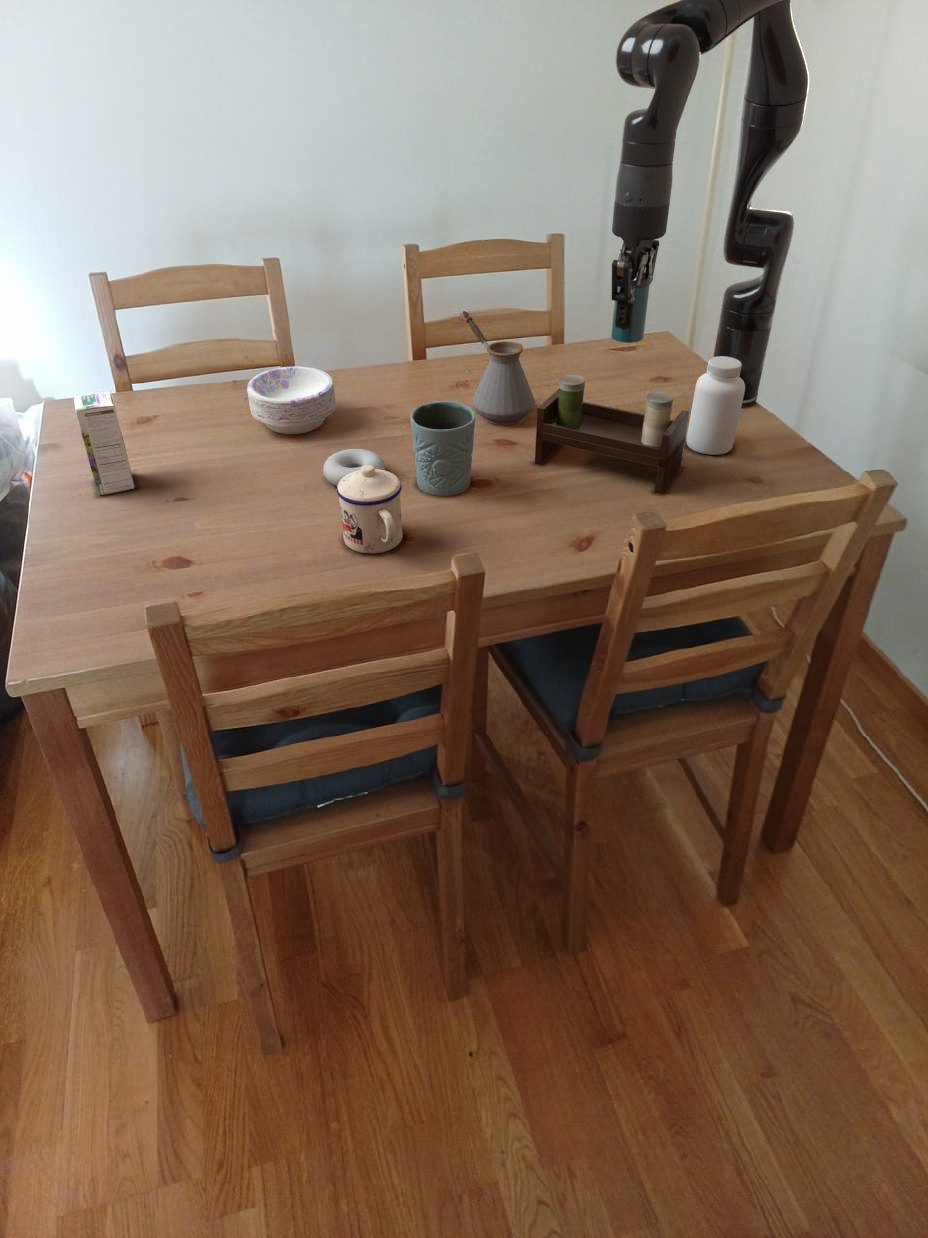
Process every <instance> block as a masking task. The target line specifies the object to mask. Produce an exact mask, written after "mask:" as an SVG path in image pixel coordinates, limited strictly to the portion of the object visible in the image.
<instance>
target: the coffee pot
mask: <svg viewBox="0 0 928 1238" xmlns="http://www.w3.org/2000/svg"><path fill="white" fill-rule="evenodd" d="M462 315H463V317H464V318H462V319H460V317H461V316H462ZM457 317H458V321H465V322H466V324H468V325H469V326H470V329H471V331H472V332H473V334H474V335H475V336H476V338H477V339H478V340H479V341H480V343H481V344H482V345H483V347H484V348H485V349H486V351H487V353H488V354H489V361H488V363H487V365H486V367H485V370H484V372H483V375H482V377H481V379H480V381H479V384H478V385H477V388H476V390H475V392H474V394H473V398H472V399H471V402H472V406H473V409H474V412H475V413H477V414H478V415H479V416H480V417H481V418H482V419H483V420H484V421H485V422H487V423H490V424H493V425H499V426H501V425H502V426H508V425H515V424H517V423H520V422H522V421H523V420H524V419H525V418H526V417H527V416H528V415H529V414H531V412H533V409H534V408H535V404H536V400H535V396H534V394H533V392H532V389H531V387H530V384H529V381H528V379H527V376H526V374H525V371H524V369H523V366H522V364H521V363H522V362H521V361H520V356H521V354H522V353H523V352H524V347H523V344H522V343H519V342H515V341H514V342H513V341H503V340H502V341H495V342H492V343H488V342H487V340H486V339H487V338H485V336H484V334H483V333H482V331H481V329H480V327H479V326H478V325H477V324H476V323H475V322H474V321H473V317H471V316H470V312H468V311H465V310H463V311H462V312H461V313H460V314H459V315H458V316H457Z"/></svg>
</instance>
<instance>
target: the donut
mask: <svg viewBox="0 0 928 1238" xmlns="http://www.w3.org/2000/svg"><path fill="white" fill-rule="evenodd" d="M365 465H371V466H373V467H374V468H375V469H380V470H385V471H386V467H385V462H384V460H383V458H382V457H381V456H380V455H379V454H378V453H376V452H374V451H372V450H369V449H364V448H348V449H344V450H343V449H342V450H340V451H337V452H335V453H333V454H331V455H329V457H328V458H326V460H325V462H324V463H323V467H322V469H323V476H324V478H325V479H326V480H327V481H328V483H330V484H331V485H333V486H335V487H337V486H338V483H339V481H340V480H341V479H342V478H343V477H344V476H346V475H347V474H349V473H351V472H354V471H358V470H361V468H362V467H363V466H365Z"/></svg>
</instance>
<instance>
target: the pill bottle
mask: <svg viewBox="0 0 928 1238" xmlns="http://www.w3.org/2000/svg"><path fill="white" fill-rule="evenodd" d="M741 367H742V364H741V362H740V361H739V360H737V359H735V358H731V357H725V356H718V357H713V356H712V357H711V358H710V359H709V360H708V362H707V367H706V372H704V373H703V374H702V375H700V376H699V377H698V378H697V381H696V382H695V383H696V384H695V388H694V393H693V398H692V405H691V410H690V411H691V412H690V415H689V420H688V426H687V432H686V439H685V442H686V445H687V447H688V448H689V449H691V450H692V451H694V452H696V453H699V454H702V455H709V456H720V455H725V454H727V453H730V451H731V450H732V449H733V447H734V443H735V440H736V439H735V438H736V434H737V430H738V425H739V420H740V415H741V412H742V411H741V410H742V407H743V406H742V402H743V397H744V392H745V384H744V381H743V380H742V379H741V378H740V377H739V376H740V372H741Z"/></svg>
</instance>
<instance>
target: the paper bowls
mask: <svg viewBox="0 0 928 1238" xmlns="http://www.w3.org/2000/svg"><path fill="white" fill-rule="evenodd" d="M334 385H335V381H334V379H333V377H332V376H331V375H330V374H328V373H327V372H326V371H323V370H321V369H319V368H315V367H310V366H298V365H297V366H282V367H276V368H271V369H269V370H265V371H262V372H261V373H258V374H257V375H255V376H253V377H252V378H251V379H250V380H249V382H248V384H247V386H246V391H247V392H246V393H247V397H248V404H249V409H250V414H251V416H252V417H253V418H254V419H255V420H256V421H258V422H260V423H263V424H265V425H266V426H267V428H269V430H271V431H273V432H275V433H278V434H285V435H299V434H304V433H308V432H309V433H310V432H311V431H314V430H316V429H318V427H320V426H321V425H322V424H323V422H324V421H325V419H326V418H327V417H328V416H330V414H332V413H333V412H334V411H335V409H336V405H337V403H336V393H335V391H336V390H335V386H334Z"/></svg>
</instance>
